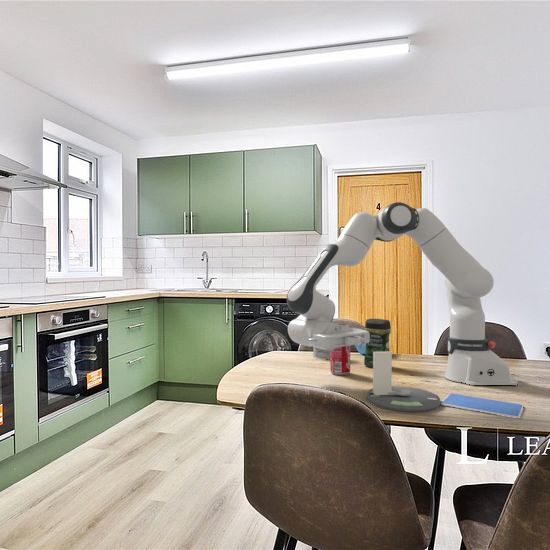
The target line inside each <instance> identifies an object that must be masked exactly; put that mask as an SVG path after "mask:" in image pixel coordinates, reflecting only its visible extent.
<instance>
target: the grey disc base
mask: <svg viewBox="0 0 550 550" xmlns="http://www.w3.org/2000/svg"><path fill="white" fill-rule="evenodd" d="M397 389H404V390H409V391H410V392H411V395H409V396H400V395H369V393H373V388H370V389H368V390H367V391H366V401H367V400H368V401H369V402H370V404H371V403H372V404H371V405H373V404H374V405H373V406H375V405H376V407H378V408H382V409H384V408H385V409H384V410H388V409H389V410H390V411H395V412H403V413H422V412H423V413H424V412H425V411H426V412H429V411H430V410H431V411H435V410H437V409H438V408H440V406H441V405H440V404H441V398H440V397H439V396H438V395H437V394H435V393H434V392H431V391H429V390H426V389H421V388H416V387H411V386H410V387H409V386H399V385H397V386H395V385H393V386H392V385H391V391H395V390H397ZM368 401H367V402H368ZM436 408H437V409H436ZM434 409H435V410H434ZM431 411H430V412H431Z"/></svg>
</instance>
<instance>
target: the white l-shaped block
mask: <svg viewBox="0 0 550 550" xmlns="http://www.w3.org/2000/svg"><path fill="white" fill-rule="evenodd" d="M392 357H393V354H392V351H390V350H389V351H388V352H373V368H372V389H373V393H369V395H400V396H409V395H411V392H410V391H409V390H404V389H397V390H395V391H391V386H392V381H393V380H392V376H393V375H392V372H393V371H392V368H393V367H392V362H393V360H392Z"/></svg>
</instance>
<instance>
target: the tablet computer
mask: <svg viewBox="0 0 550 550" xmlns="http://www.w3.org/2000/svg"><path fill="white" fill-rule="evenodd" d="M440 404H441V405H440V406H442V405H444V407H447V406H450V407H449V408H453V407H455V408H454V409H459V408H461V409H460V410H464V409H467V410H466V411H470V410H473V411H472V412H475V411H480V412H479V413H481V412H485V413H484V414H487V413H492V414H499V415H504V416H510V417H516V418H519V417H520V415H521V416H522V414H521V412H522V410H523V411H524V409H523V407H524V408H525V405H523V404H521V403H513V402H507V401H501V400H495V399H488V398H483V397H478V396H472V395H471V396H470V395H466V394H465V395H464V394H460V393H459V394H458V393H449V394H447V396H446V397H445V398H444V399H443V400H441V401H440ZM522 413H523V412H522ZM492 414H491V415H492ZM520 418H521V417H520Z"/></svg>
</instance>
